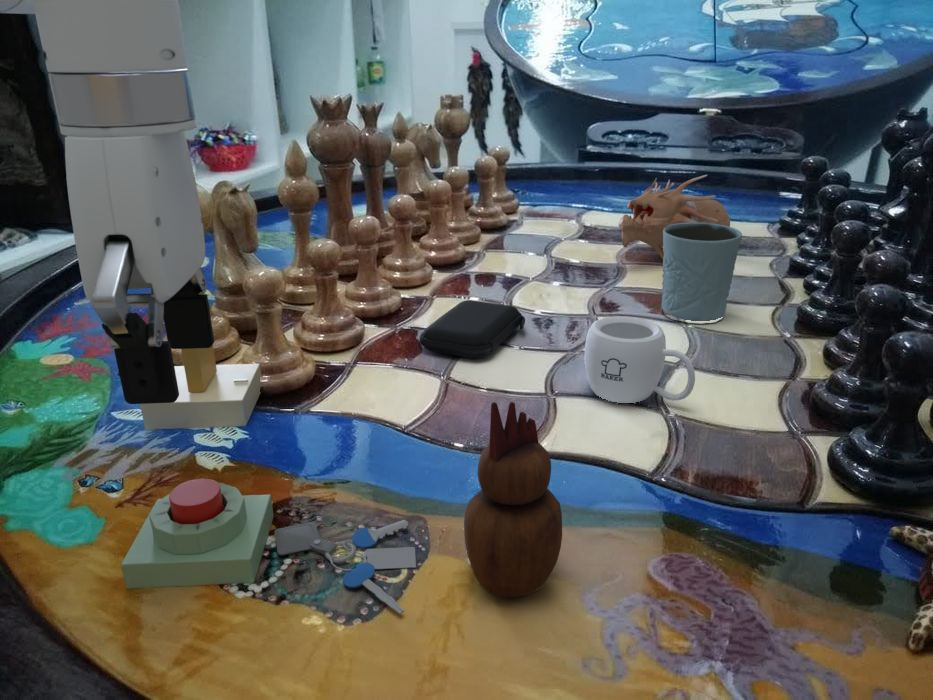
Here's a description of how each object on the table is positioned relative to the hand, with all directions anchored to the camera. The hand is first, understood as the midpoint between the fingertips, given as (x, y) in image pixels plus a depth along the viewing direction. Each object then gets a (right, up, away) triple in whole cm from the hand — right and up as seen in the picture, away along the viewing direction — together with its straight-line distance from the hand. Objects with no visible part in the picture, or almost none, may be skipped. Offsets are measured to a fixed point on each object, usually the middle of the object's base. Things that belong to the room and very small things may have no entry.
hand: (174, 371), depth 50 cm
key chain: (+12, -14, +6) cm, 19 cm away
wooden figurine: (+23, -15, +3) cm, 28 cm away
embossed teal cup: (+52, +6, +53) cm, 75 cm away
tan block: (-8, -2, +26) cm, 27 cm away
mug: (+38, -4, +29) cm, 49 cm away
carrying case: (+21, +3, +45) cm, 50 cm away
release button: (0, -11, +4) cm, 12 cm away
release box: (0, -14, +6) cm, 15 cm away
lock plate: (-8, -5, +28) cm, 29 cm away
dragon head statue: (+56, +17, +77) cm, 97 cm away
